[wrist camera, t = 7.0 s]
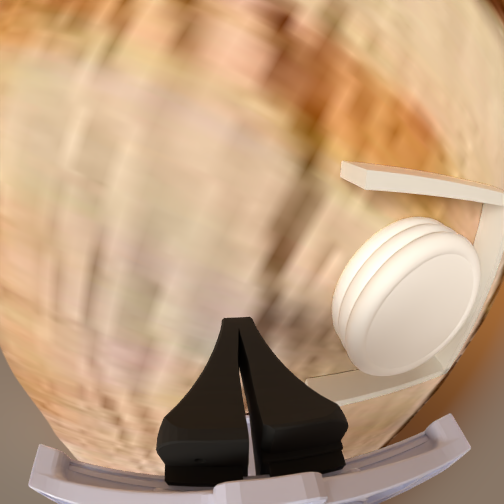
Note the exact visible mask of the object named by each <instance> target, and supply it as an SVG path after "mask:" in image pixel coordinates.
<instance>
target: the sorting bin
mask: <svg viewBox="0 0 504 504" xmlns="http://www.w3.org/2000/svg"><path fill="white" fill-rule="evenodd" d="M340 177H341V178H343V179H345V180H347V181H349V182H351V183H353V184H355V185H357V186H359V187H361V188H363V189H365V190H378V191H391V192H402V193H412V194H422V195H431V196H439V197H447V198H455V199H462V200H469V201H476V202H482V203H483V208H482V213H481V217H480V222H479V226H478V230H477V234H476V237H475V241H474V245H473V247H474V248H475V250H476V252H477V254H478V257H479V260H480V266H481V279H480V287H479V292H478V295H477V298H476V301H475V304H474V306H473V309H472V311H471V313H470V315H469V316H468V318H467V320H466V322H465V323H464V325H463V326H462V328H461V329H460V330H459V332H458V333H457V334H456V335H455V337H454V338H453V339H452V340H451V341H450V342H449V343H448V344H447V345H446V346H445V347H444V348H443V349H442V350H441V351H440V352H439V353H437V354H436V355H435V356H433V357H432V358H431V359H429V360H428V361H426V362H425V363H423V364H421V365H420V366H418V367H416V368H414V369H412V370H409V371H407V372H404V373H401V374H397V375H391V376H375V375H370V374H367V373H364V372H362V371H361V370H354V371H349V372H344V373H338V374H333V375H327V376H320V377H314V378H307V379H306V381H305V384H306V385H307V386H309V387H310V388H311V389H313V390H314V391H316V392H317V393H319V394H320V395H322V396H324V397H325V398H327V399H329V400H331V401H333V402H335V403H337V404H338V405H339V406H343V405H347V404H352V403H356V402H360V401H364V400H368V399H372V398H375V397H379V396H383V395H386V394H389V393H393V392H396V391H399V390H402V389H405V388H408V387H411V386H414V385H417V384H420V383H423V382H425V381H428V380H431V379H433V378H436V377H438V376H441V375H443V374H446V373H447V372H448V370H449V369H450V367H451V365H452V364H453V362H454V360H455V359H456V357H457V355H458V354H459V352H460V350H461V348H462V347H463V345H464V343H465V341H466V339H467V337H468V335H469V334H470V332H471V330H472V328H473V326H474V324H475V322H476V320H477V317H478V315H479V313H480V311H481V309H482V307H483V304H484V302H485V300H486V297H487V295H488V293H489V290H490V288H491V285H492V283H493V280H494V277H495V275H496V272H497V269H498V266H499V263H500V260H501V257H502V254H503V251H504V191H503V190H501V189H498V188H496V187H494V186H491V185H487V184H483V183H479V182H474V181H470V180H466V179H461V178H456V177H452V176H447V175H442V174H436V173H431V172H425V171H419V170H413V169H407V168H400V167H393V166H386V165H378V164H369V163H360V162H350V161H342V162H341V174H340Z"/></svg>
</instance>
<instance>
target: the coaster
mask: <svg viewBox="0 0 504 504" xmlns="http://www.w3.org/2000/svg"><path fill="white" fill-rule="evenodd" d="M480 279H481V266H480V260H479V257H478V254H477V252H476V250H475V248H474V247H473V245H472V244H471V243H470V242H469V241H468V240H467V239H466V238H465V237H463V236H462V235H460V234H457V233H456V232H455V231H454V230H452V229H451V228H449V227H447V226H445V225H444V224H442V223H441V222H439V221H437V220H435V219H432V218H427V217H408V218H404V219H400V220H398V221H395V222H393V223H391V224H389V225H387V226H385V227H383V228H382V229H380V230H379V231H378V232H376V233H375V234H374V235H372V236H371V237H370V238H369V239H368V240H367V241H366V242H365V243H364V244H363V245H362V246H361V247H360V248H359V249H358V250H357V251H356V253H355V254H354V255H353V257H352V258H351V259H350V261H349V262H348V264H347V265H346V267H345V268H344V270H343V272H342V274H341V276H340V278H339V280H338V283H337V285H336V288H335V291H334V295H333V300H332V320H333V326H334V328H335V331H336V333H337V335H338V336H339V338H340V340H341V343H342V345H343V346H344V348H345V350H346V351H347V354H348V357H349V359H350V360H351V362H352V363H353V364H354V365H355V366H356V367H357V368H358V369H359V370H361V371H362V372H364V373H367V374H370V375H375V376H391V375H397V374H401V373H404V372H407V371H409V370H412V369H414V368H416V367H418V366H420V365H421V364H423V363H425V362H426V361H428V360H429V359H431V358H432V357H433V356H435V355H436V354H437V353H439V352H440V351H441V350H442V349H443V348H444V347H445V346H446V345H447V344H448V343H449V342H450V341H451V340H452V339H453V338H454V337H455V335H456V334H457V333H458V332H459V330H460V329H461V328H462V326H463V325H464V323H465V322H466V320H467V318H468V316H469V315H470V313H471V311H472V309H473V306H474V304H475V301H476V298H477V295H478V292H479V287H480Z"/></svg>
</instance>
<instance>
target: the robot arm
mask: <svg viewBox="0 0 504 504" xmlns="http://www.w3.org/2000/svg"><path fill="white" fill-rule="evenodd" d="M239 368H240V372H241V377H242V382H243V387H244V391H245V396H246V400H247V405H248V411H249V415H245V410H244V404H243V397H242V390H241V383H240V376H239ZM347 429H348V423H347V420H346V417H345V415H344V414H343V412H342V410H341V409H340V407H339V405H338V404H337V403H335V402H333V401H331V400H329V399H327V398H325V397H324V396H322V395H320V394H319V393H317V392H316V391H314V390H313V389H311V388H310V387H309V386H307V385H306V384H305V383H303V382H302V381H301V380H300V379H298V378H297V377H296V376H295V375H294V374H293V373H292V372H291V371H289V370H288V369H287V368H286V367H285V366H284V364H283V363H282V362H281V361H280V360H279V359H278V358H277V357H276V355H275V354H274V353H273V352H272V350H271V349H270V348H269V346H268V345H267V344H266V342H265V341H264V339H263V338H262V336H261V335H260V333H259V331H258V330H257V328H256V326H255V324H254V322H253V319H252V318H251V317H240V318H224V319H223V320H222V325H221V330H220V333H219V337H218V339H217V342H216V345H215V347H214V350H213V352H212V354H211V356H210V358H209V361H208V363H207V364H206V366H205V368H204V370H203V372H202V373H201V375H200V376H199V378H198V379H197V381H196V382H195V384H194V385H193V387H192V388H191V389H190V391H189V392H188V393H187V394H186V395H185V396H184V398H183V399H182V400H181V401H180V402H179V403H178V404H177V406H175V407H174V408H173V409H172V410H171V411H170V412H169V413H168V414H167V415H166V416H165V417H164V419H163V421H162V424H161V426H160V429H159V433H158V437H157V447H156V451H157V453H158V455H159V456H160V458H161V459H162V461H163V462H164V463H165V476H159V475H149V474H141V473H134V472H128V471H122V470H116V469H111V468H106V467H101V466H97V465H92V464H88V463H84V462H80V461H77V460H73V459H70V458H69V456H67V454H65V453H64V452H62V451H60V450H57V449H55V448H52V447H49V446H46V445H43V444H39V447H38V450H37V454H36V457H35V461H34V464H33V468H32V472H31V476H30V480H29V487H30V488H32V489H34V490H35V491H37V492H38V493H40V494H42V495H44V496H45V497H47V498H49V499H50V500H52V501H54V502H56V503H58V504H378V503H381V502H383V501H386V500H388V499H390V498H392V497H394V496H396V495H399V494H401V493H403V492H405V491H407V490H409V489H411V488H413V487H415V486H417V485H419V484H421V483H423V482H424V481H426V480H428V479H430V478H432V477H434V476H435V475H437V474H439V473H441V472H442V471H444V470H445V469H447V468H448V467H449V466H451V465H452V464H453V463H454V462H456V461H457V460H458V459H459V458H461V457H462V456H463V455H464V454H465V453H467V451H469V450H470V449H471V447H470V445H469V443H468V441H467V439H466V438H465V436H464V434H463V433H462V431H461V429H460V427H459V426H458V424H457V423H456V421H455V419H454V417H453V416H452V414H448V415H446V416H444V417H442V418H440V419H438V420H436V421H434V422H433V423H431V424H430V425H429V426H428V427H427V428H426V430H425V431H424V432H422V433H419V434H417V435H415V436H412V437H410V438H407V439H405V440H403V441H400V442H398V443H395V444H392V445H390V446H387V447H384V448H381V449H378V450H375V451H372V452H369V453H366V454H363V455H360V456H356V457H353V458H349V459H346V460H344V457H343V454H342V451H341V450H342V449H343V446H342V443H341V439H342V437H343V436H344V434H345V432H346V431H347Z"/></svg>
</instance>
